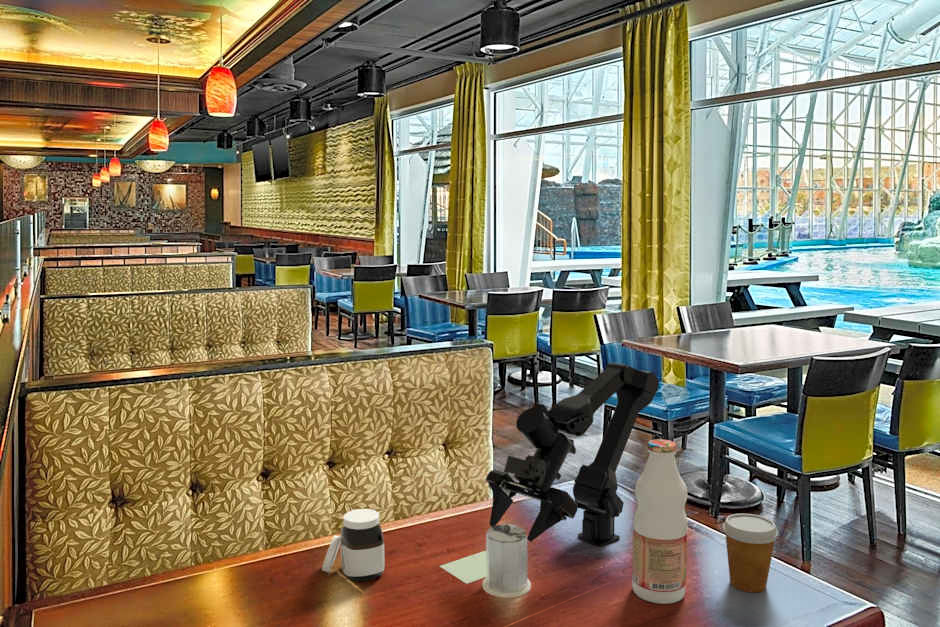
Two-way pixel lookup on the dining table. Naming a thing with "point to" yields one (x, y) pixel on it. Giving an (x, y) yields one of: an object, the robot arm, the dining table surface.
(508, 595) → the teal puck on dish
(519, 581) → the grey metal canister
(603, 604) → the dining table surface
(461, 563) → the sage placemat
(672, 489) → the fruit juice
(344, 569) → the spread jar
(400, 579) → the dining table surface
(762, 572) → the disposable coffee cup
